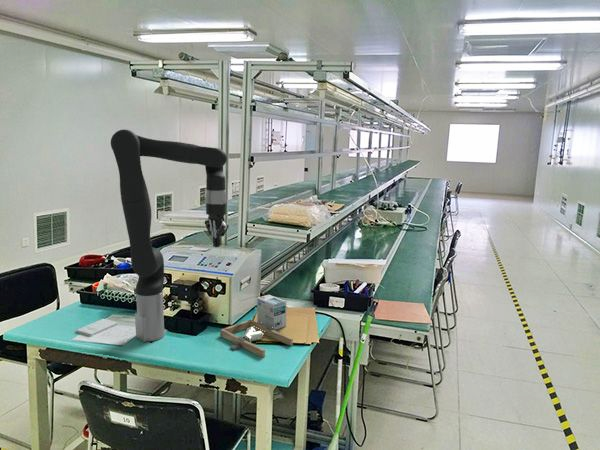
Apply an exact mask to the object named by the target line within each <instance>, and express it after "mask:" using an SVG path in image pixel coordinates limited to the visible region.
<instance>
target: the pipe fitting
mask: <svg viewBox="0 0 600 450" xmlns="http://www.w3.org/2000/svg"><path fill="white" fill-rule="evenodd" d="M263 335H264V336H265V334H263V333H262V332H261V331H257V330H255V329H254V328H253V327H249V328H246V329H245V333H244V334H243V335H242V336H241V337H242V338H244V339H246V341H248V342H250V343H252V342H256V341H260V340H263V338H262V337H264V336H263ZM258 338H259V339H258Z"/></svg>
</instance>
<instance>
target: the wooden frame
mask: <svg viewBox="0 0 600 450" xmlns="http://www.w3.org/2000/svg"><path fill="white" fill-rule="evenodd" d="M253 326H255V327H253ZM250 327H253V328H254V329H255V330H256V331H261V332H262V333H263V334H264V336H265V335H266V336H267V337H270V338H272V339H274V340H277V341H279V342H280V343H283V344H285V345H288V346H290V347H292V346H293V345H294V339H293V337H290V336H288V335H285V334H283V333H281V332H280V333H279V332H277V331H275V330H271V331H270V330H268V329H266V326H264V325H261V324H259V323H257V321H255V320H252V319H248V320H245V321H242V322H239V323H236V324H233V325H230V326H227V327H224V328H222V329H220V332H219V334H220V337H221V338H223V339H226V340H228V341H229V342H232V343H233V344H234V345H235V344H237V343H239V344H241V345H242V349H245V350H247V351H249V352H250V353H253V354H254V355H256V356H258V357H260V358H265V357H266V350H265V348H263V347H260V346H258V345H256V344H254V343H252V342H251V343H250V342H248V341H246V340H244V341H242V340H240V339H238V337H239V336H238V335H237V334H234V333H237V332H241V331H242V330H243V331H244V330H247V328H250ZM256 327H257V328H256ZM258 328H259V329H258ZM260 329H261V330H260ZM262 330H263V331H262ZM264 331H265V332H264Z"/></svg>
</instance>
